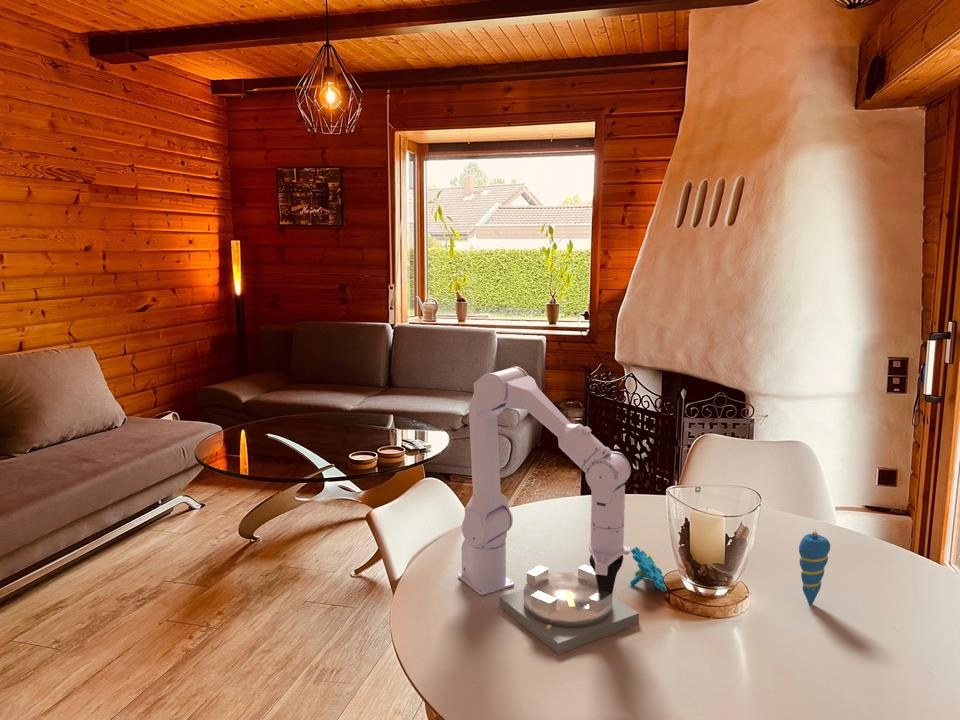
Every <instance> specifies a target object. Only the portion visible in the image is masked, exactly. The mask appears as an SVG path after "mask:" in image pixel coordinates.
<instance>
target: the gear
mask: <svg viewBox="0 0 960 720" xmlns="http://www.w3.org/2000/svg"><path fill="white" fill-rule="evenodd" d="M630 553H631V554H633V555H632V556H631V557H632V559H633V560H634V561H635V562H636V563H637V567H638V570H637V571H635V572H634V575H635V577H634V578H633V579H632V580H631V581H629V584H630V585H631V586H632V587H634V586H635V585H637V584H638V583H639V582H641V581H642V580H643V579H644V578H645V579H648V581H651V580H652V581H653V585H654V586H655V588H657V589H660V590H661V591H662V592H664V591H665V589H666V586H665V584H664V578H666V576H664V574H663V572H662V570H661V569H660V568H659V567H657V565H656V564H655V563H656V562H655V561H654V558H653V557H652V556H651V555H647V553H646V552H645V551H644V550H641V549H640V548H639V547H638V546H635V547H634V548H632V549H630ZM665 592H666V591H665ZM665 592H664V593H665Z"/></svg>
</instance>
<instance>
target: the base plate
mask: <svg viewBox="0 0 960 720" xmlns="http://www.w3.org/2000/svg"><path fill="white" fill-rule="evenodd" d="M498 597H499V602H498V603H499V606H498V607H499V608H500V609H502V610H503V611H504V612H505V613H507V614H508V615H509V617H511V618H513V619H514V620H515V621H516V622H518V623H519V624H520V625H521V626H522V627H524V628H525V629H526V630H528V631H529V632H530V633H531V634H532V635H534V636H535V637H536V638H537V639H538V640H540V641H541V642H542V643H544V644H545V645H546V646H547V647H548V648H549V649H551V650H552V651H553V652H554V653H556V654H557V655H560V654H563V653H566V652H568V651H571V650H573V649H576V648H578V647H581V646H584V645H586V644H590V643H592V642H595V641H597V640H600V639H602V638H604V637H607V636H610V635H613V634H615V633H618V632H621V631H622V630H626V629H627V628H630V627H634V626H636V625H638V624H640V623H639V622H640V612H638V611H637V610H635V609H633V608H632V607H630V606H629V605H628V604H625V603H624V602H622V601H620V600H619V599H618V598H616V597H614V596H613V595H612V611H611V613H610V615H609V616H608V617H607V618H606V619H604V620H602V621H601V622H598V623H596V624H593V625H589V626H583V627H563V626H556V625H552V624H548V623H545V622H543V621H540V620H538V619H536V618H535V617H533V616H532V615H531V614H530V613H528V611H527V610H526V608H525V606H524V588H523V589H520V590H517V591H513V592H511V593H506V594H504V595H502V596H498Z"/></svg>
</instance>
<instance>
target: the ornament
mask: <svg viewBox="0 0 960 720" xmlns="http://www.w3.org/2000/svg"><path fill="white" fill-rule="evenodd" d="M830 551H831V543H830V541H829V539H827V537H825V536H822V535H819V532H817V530H816V528H815V530H814V531H812V533H807V534H805V535H804V536H803V537H802V539H801V540H800V542H799V545H798V552H799V555H800V557H799V565H800V568H801V573H800V576H801V580H802V591H803V594H804V596H805V599H806V600H807V604H809V605H813V604H814V602H815V599H816V598H817V596H818V594H819V592H820V590H821V587H822V579H823V577H824V575H825V568H826V565H827V564H828V562H829V556H828V555H829V553H830Z"/></svg>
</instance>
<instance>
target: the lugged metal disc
mask: <svg viewBox="0 0 960 720" xmlns="http://www.w3.org/2000/svg"><path fill="white" fill-rule="evenodd" d="M523 589H524V606H525V608H526V610H527V611H528V613H530V614H531V615H532V616H533V617H535V618H536V619H538V620H540V621H543V622H545V623H548V624H552V625H556V626H563V627H583V626H589V625H593V624H596V623H598V622H601V621H602V620H604V619H606V618H607V617H608V616H609V615H610V613H611V611H612V596H613V592H612V593H609V592H607V591H604V590H601V591H598V584H597V579H596V575H595V572H594V570H593V568H592V566H590V565H587V564H583V565H581V566H579V567H578V568H577V573H576V572H552V573H551V572H550V573H549V568H548V567H545V566H543V565H538V566H536V567H535V568H533V569H530V570H529V571H528V572H526V585H525V587H524V588H523Z"/></svg>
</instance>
